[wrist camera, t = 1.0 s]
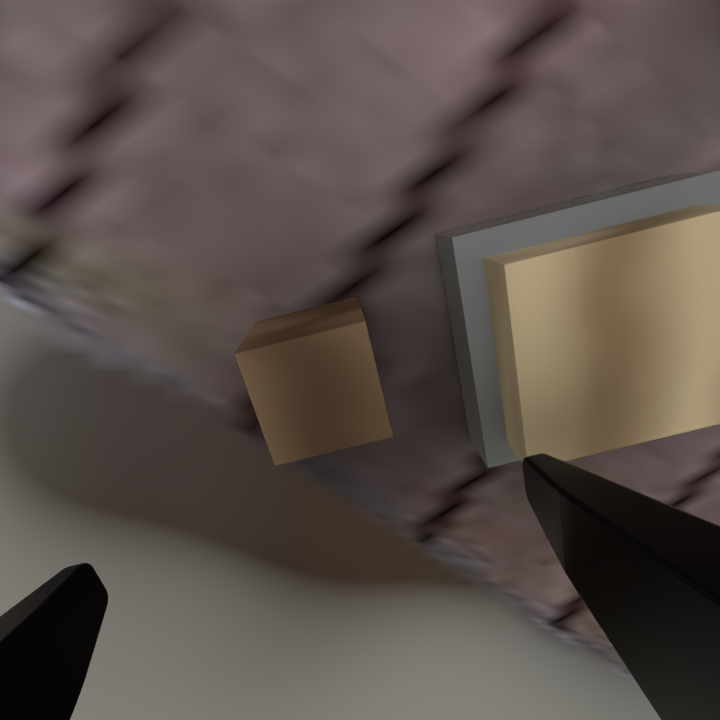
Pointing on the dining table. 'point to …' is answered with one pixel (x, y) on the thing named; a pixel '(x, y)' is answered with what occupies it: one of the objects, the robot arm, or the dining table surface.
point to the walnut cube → (314, 381)
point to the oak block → (609, 335)
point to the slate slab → (523, 230)
